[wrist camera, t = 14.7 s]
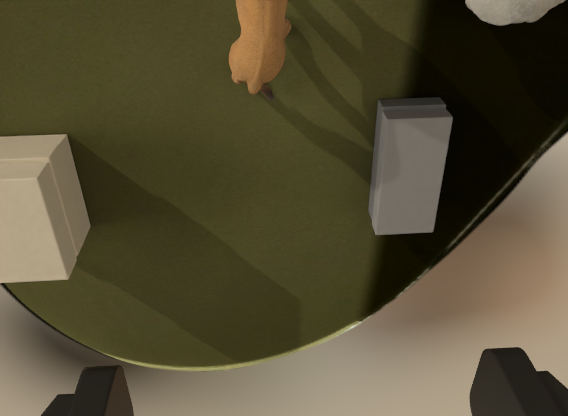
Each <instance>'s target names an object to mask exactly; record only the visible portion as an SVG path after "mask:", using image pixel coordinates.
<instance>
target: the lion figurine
mask: <svg viewBox="0 0 568 416" xmlns="http://www.w3.org/2000/svg"><path fill="white" fill-rule="evenodd" d="M287 2H288V0H236V5H237V11H238V17H239V21H240V25H241V35H240V37H239V39H238V40H237V41H236V42H234V43H233V45H232V46H231V51H230V54H229V65H230V68H231V71H232V79H233V81H234V82H235V83H237V84H241V83H242V82H243V81H245V82H247V85H248V90H249V92H250V93H251V94H253V95H254V94H256V93H257V92H258V91H261V92H262V93H263V94H264V95H265V97H266V98H267V99H268V100H273V99H274V97H273V94H272V91H271V89H270V88H269V87H268V86H267V85H265V84H263V83H267V82H269V81H271V80H272V79H274V78H275V77H276V76H277V74H278V73H279V71H280V70H281V68H282V66H283V63H284V59H285V51H286V49H285V41H284V39H285V38H286V36H287V35H288V33H289V32H290V30H291V23H290V21H289V20H288V19H287V18H285V14H286V8H287Z"/></svg>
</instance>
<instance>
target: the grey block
mask: <svg viewBox="0 0 568 416" xmlns="http://www.w3.org/2000/svg"><path fill="white" fill-rule="evenodd" d="M452 120H453V117H452V115H451V114H450V113H449V112H448V111H447V110H446V104H445V103H444V102H443V100H442V99H441V98H440V97H433V98H405V99H379V100H378V107H377V118H376V129H375V141H374V152H373V164H372V175H371V186H370V198H369V209H368V211H369V214H370V216H371V219H372V226H373V229H374V231H375V234H376V235H385V234H406V233H427V232H433V230H434V224H435V218H436V213H437V207H438V201H439V195H440V189H441V184H442V178H443V172H444V166H445V160H446V155H447V149H448V143H449V137H450V131H451V125H452Z"/></svg>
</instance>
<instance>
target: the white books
mask: <svg viewBox="0 0 568 416" xmlns="http://www.w3.org/2000/svg"><path fill="white" fill-rule="evenodd" d="M42 162H48V163H49V165H50V169H51V172H52V176H53V179H54V183H55V186H56V190H57V193H58V197H59V200H60V203H61V207H62V210H63V214H64V217H65V221H66V224H67V228H68V231H69V235H70V238H71V242H72V245H73V248H74V252H75V255H76V257H77V256H78V254H79V252H80V250H81V247H82V245H83V243H84V241H85V238H86V236H87V233H88V231H89V229H90V227H91V225H90V222H89V218H88V214H87V210H86V206H85V202H84V198H83V195H82V191H81V187H80V183H79V179H78V175H77V171H76V168H75V164H74V160H73V156H72V152H71V148H70V144H69V141H68V137H67V134H60V135H34V136H8V137H0V164H18V163H42Z"/></svg>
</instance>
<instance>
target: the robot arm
mask: <svg viewBox="0 0 568 416" xmlns="http://www.w3.org/2000/svg"><path fill="white" fill-rule="evenodd" d="M470 407H471V412H472V416H568V389H567V388H566V387H565V386H564V385H563V384H562V383H560V382H559V381H558V380H557V379H556V378H555V377H554V376H553V375H552V374H550V373H549V372H548V371H536V369H535V368H534V366H533V364H532V362H531V361H530V360H529V357H528V356H527V354H526V353H525V351H524V350H523V349H521V348H518V347H516V348H515V347H514V348H495V349H485V350H484V351H483V353H482V355H481V358H480V361H479V365H478V368H477V371H476V375H475V378H474V381H473V384H472V388H471V391H470ZM41 416H134V414H133V407H132V402H131V398H130V394H129V391H128V386H127V383H126V378H125V375H124V371H123V368H122V366H120V365H117V366H96V367H85V368H84V370H83V371H82V373H81V375H80V379H79V382H78V384H77V387H76V391H75V394H60V395H57V396H56V398H55V399H54V400H53V401H52V402H51V404H50V405H49V406H48V407H47V409H46V410H45V411H44V412H43V414H42V415H41Z"/></svg>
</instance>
